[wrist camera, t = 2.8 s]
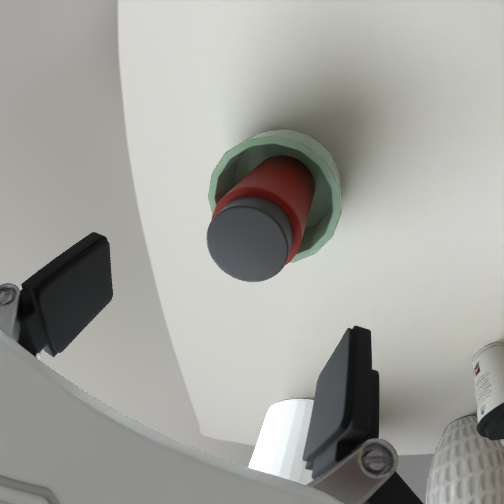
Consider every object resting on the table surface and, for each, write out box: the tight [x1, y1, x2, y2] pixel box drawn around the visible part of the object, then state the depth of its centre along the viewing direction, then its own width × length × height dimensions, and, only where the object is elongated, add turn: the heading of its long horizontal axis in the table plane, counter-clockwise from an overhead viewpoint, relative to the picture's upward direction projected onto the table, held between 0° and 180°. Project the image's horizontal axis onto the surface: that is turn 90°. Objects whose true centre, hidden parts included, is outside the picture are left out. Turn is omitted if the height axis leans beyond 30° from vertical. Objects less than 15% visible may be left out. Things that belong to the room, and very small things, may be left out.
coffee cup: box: [472, 342, 504, 441], centre depth 21 cm, size 7×7×10 cm
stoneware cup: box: [208, 129, 341, 263], centre depth 21 cm, size 9×9×4 cm
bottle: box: [249, 399, 314, 485], centre depth 27 cm, size 12×12×25 cm
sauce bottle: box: [207, 155, 315, 282], centre depth 19 cm, size 5×5×10 cm
